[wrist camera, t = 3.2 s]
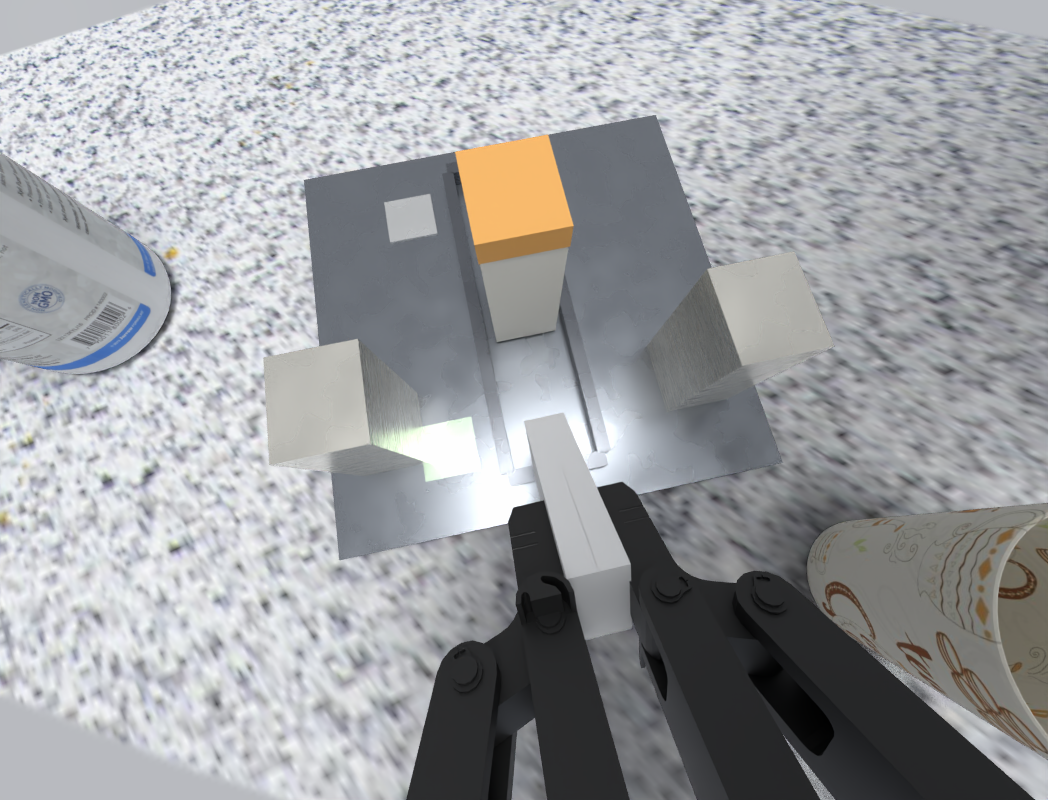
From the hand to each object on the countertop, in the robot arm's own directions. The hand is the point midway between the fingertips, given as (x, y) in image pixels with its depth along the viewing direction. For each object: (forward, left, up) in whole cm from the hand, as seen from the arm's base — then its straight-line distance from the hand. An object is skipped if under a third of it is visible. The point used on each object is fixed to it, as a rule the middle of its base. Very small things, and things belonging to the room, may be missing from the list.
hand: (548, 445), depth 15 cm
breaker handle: (-7, -6, -7) cm, 11 cm away
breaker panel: (-7, -6, -8) cm, 12 cm away
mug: (-6, +19, -8) cm, 21 cm away
